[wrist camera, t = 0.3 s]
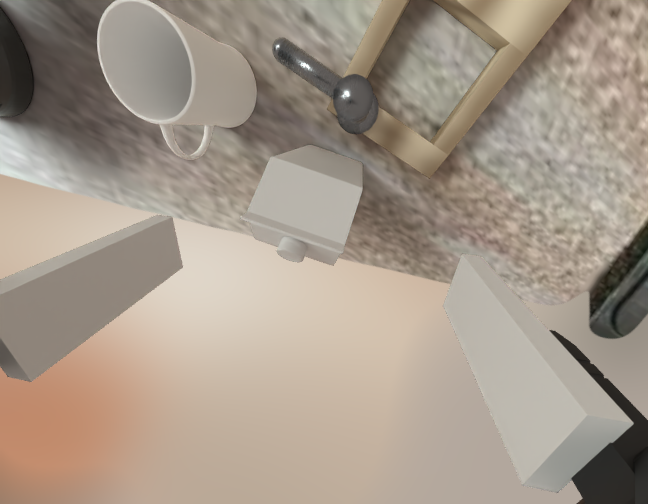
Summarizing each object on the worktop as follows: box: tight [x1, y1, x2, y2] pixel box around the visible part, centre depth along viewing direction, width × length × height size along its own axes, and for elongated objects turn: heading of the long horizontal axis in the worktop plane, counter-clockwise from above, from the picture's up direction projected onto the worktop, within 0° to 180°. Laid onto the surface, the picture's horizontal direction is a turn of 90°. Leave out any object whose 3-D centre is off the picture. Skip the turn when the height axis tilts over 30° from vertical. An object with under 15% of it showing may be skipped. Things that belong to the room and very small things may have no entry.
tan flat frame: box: [327, 0, 572, 179], centre depth 25 cm, size 14×20×2 cm
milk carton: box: [240, 145, 363, 265], centre depth 25 cm, size 7×7×19 cm
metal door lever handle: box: [273, 38, 379, 134], centre depth 22 cm, size 8×4×16 cm, turn 60°
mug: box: [97, 0, 257, 160], centre depth 25 cm, size 12×8×12 cm
